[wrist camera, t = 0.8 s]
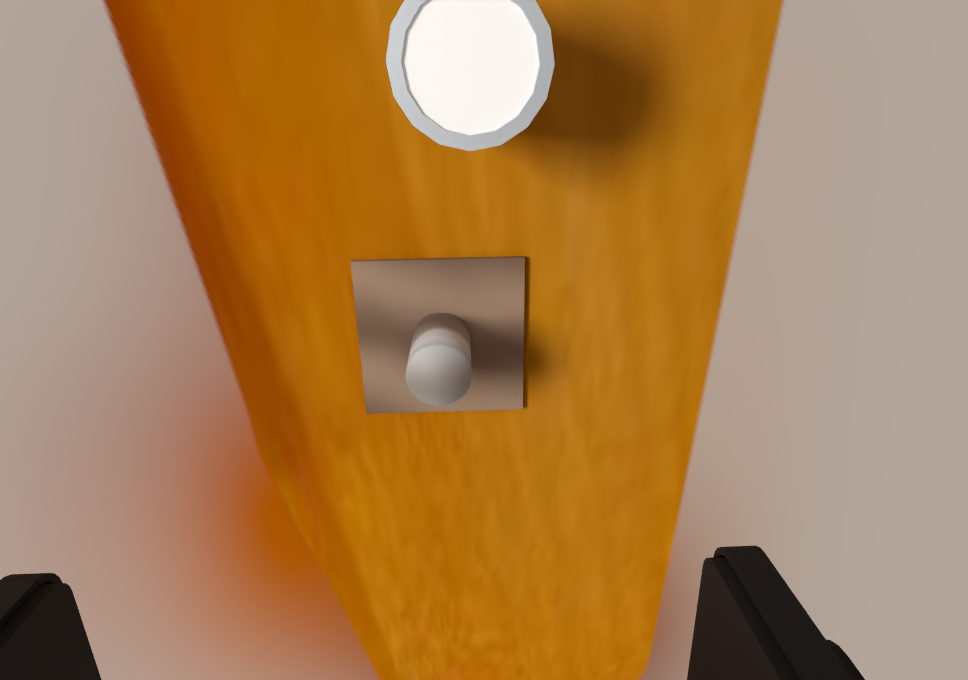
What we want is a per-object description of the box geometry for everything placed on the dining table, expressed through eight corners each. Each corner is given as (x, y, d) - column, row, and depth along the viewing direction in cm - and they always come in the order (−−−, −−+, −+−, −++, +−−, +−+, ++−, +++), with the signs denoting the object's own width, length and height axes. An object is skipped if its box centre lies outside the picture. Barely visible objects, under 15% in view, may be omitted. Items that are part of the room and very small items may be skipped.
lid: (352, 258, 35) (333, 289, 29) (523, 254, 35) (534, 284, 29) (368, 407, 39) (353, 459, 33) (521, 403, 39) (531, 453, 33)
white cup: (553, 108, 31) (577, 113, 25) (433, 158, 32) (426, 176, 26) (507, -34, 29) (521, -68, 22) (378, 24, 29) (355, 7, 23)
